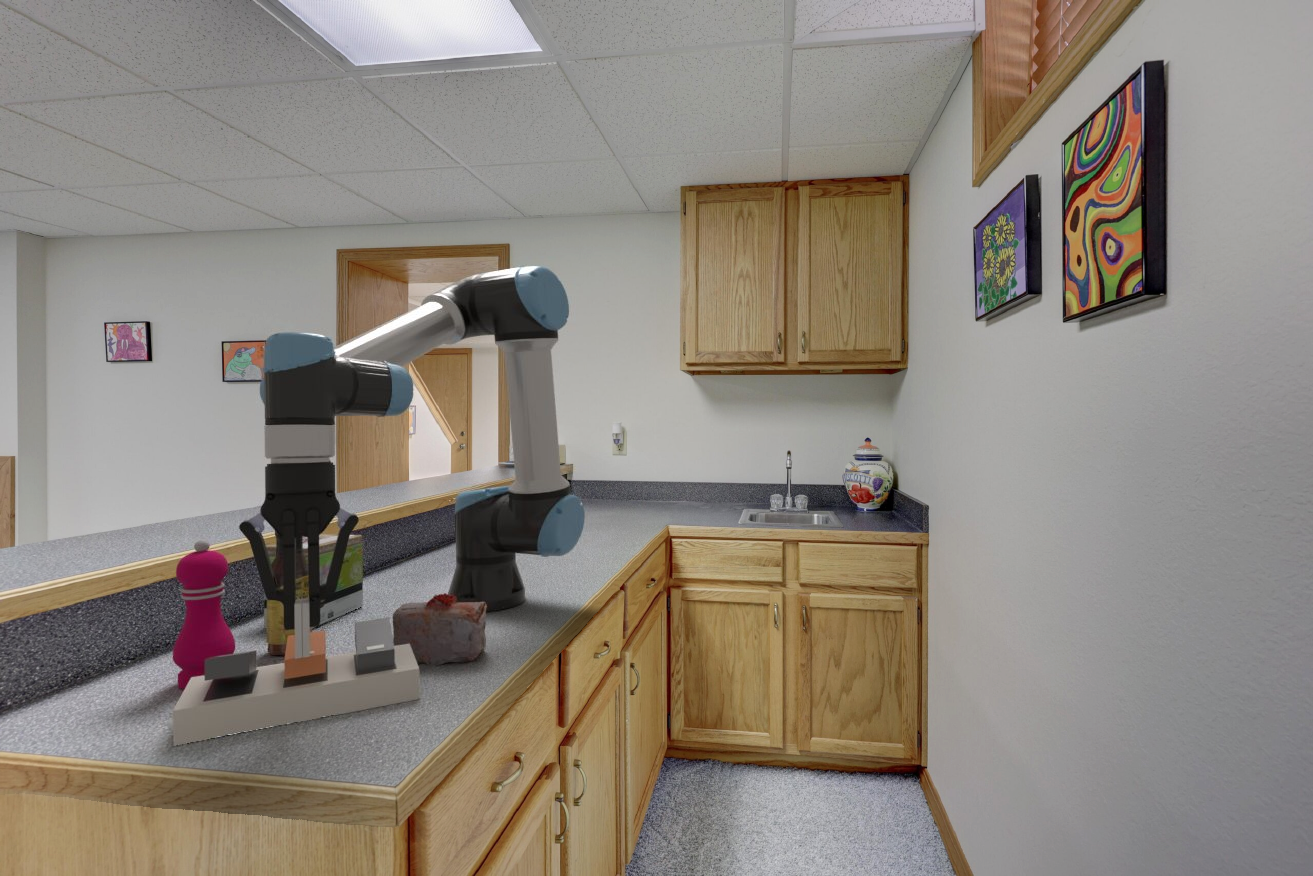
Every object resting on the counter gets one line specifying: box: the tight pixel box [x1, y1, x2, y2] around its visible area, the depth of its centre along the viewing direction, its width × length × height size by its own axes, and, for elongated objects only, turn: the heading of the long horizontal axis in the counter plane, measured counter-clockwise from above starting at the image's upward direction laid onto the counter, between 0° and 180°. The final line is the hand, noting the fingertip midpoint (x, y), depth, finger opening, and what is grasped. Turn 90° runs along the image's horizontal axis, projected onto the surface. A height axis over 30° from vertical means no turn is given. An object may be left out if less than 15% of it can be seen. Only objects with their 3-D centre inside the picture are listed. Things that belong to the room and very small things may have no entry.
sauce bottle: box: [266, 530, 313, 656], centre depth 103 cm, size 7×6×20 cm
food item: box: [392, 593, 487, 667], centre depth 99 cm, size 14×8×10 cm, turn 94°
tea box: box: [263, 533, 364, 630], centre depth 121 cm, size 15×10×15 cm, turn 171°
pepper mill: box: [172, 539, 236, 691], centre depth 91 cm, size 7×7×20 cm
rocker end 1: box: [205, 650, 257, 681], centre depth 79 cm, size 4×8×2 cm, turn 27°
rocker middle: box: [283, 630, 327, 679], centre depth 83 cm, size 4×8×2 cm, turn 27°
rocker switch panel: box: [172, 644, 421, 747], centre depth 83 cm, size 26×11×4 cm, turn 117°
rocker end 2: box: [354, 617, 395, 671], centre depth 86 cm, size 4×8×2 cm, turn 27°
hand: (302, 654), depth 79 cm, fingers closed
